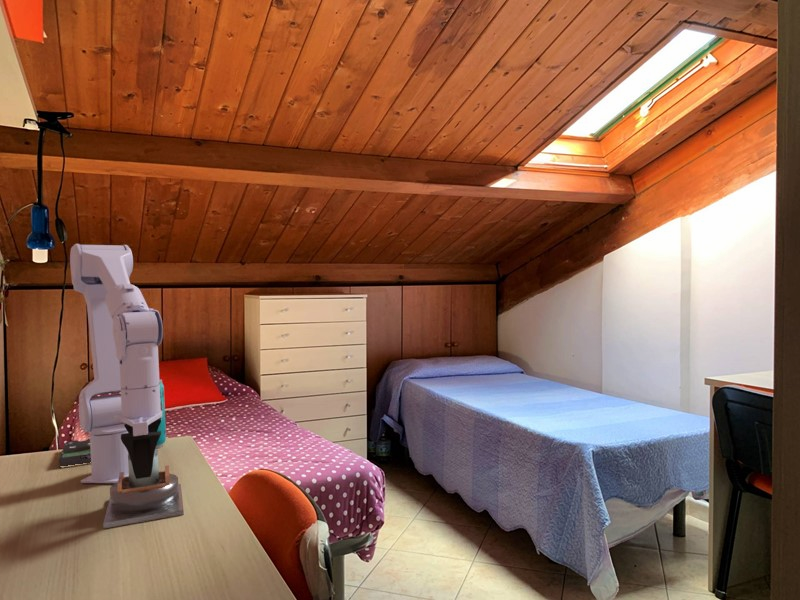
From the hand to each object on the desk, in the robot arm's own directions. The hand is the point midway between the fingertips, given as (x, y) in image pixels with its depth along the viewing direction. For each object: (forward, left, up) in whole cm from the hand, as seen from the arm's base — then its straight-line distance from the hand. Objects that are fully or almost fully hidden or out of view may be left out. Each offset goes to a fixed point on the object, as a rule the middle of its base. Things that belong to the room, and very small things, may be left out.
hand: (144, 470), depth 90 cm
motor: (0, 0, -6) cm, 6 cm away
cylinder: (0, 0, -2) cm, 2 cm away
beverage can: (-34, -19, -6) cm, 39 cm away
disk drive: (-28, -30, -7) cm, 41 cm away
